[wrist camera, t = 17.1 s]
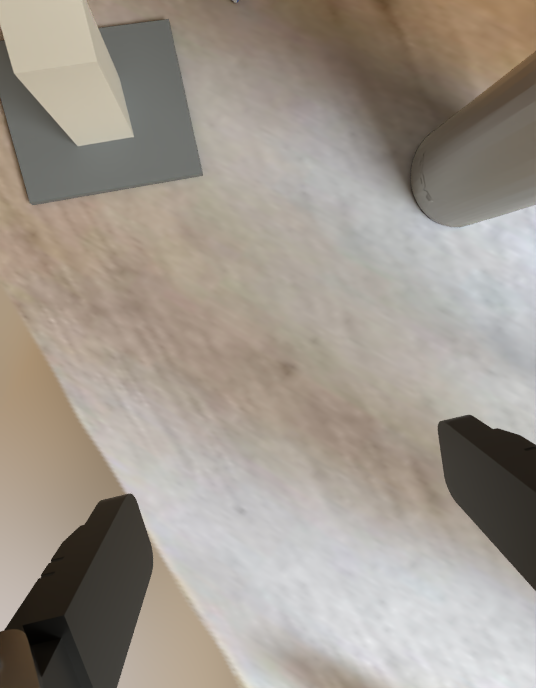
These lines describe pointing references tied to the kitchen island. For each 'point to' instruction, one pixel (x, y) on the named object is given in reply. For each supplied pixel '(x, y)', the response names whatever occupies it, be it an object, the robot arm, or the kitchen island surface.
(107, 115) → the cream block
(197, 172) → the slate mat
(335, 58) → the kitchen island surface
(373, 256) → the kitchen island surface
